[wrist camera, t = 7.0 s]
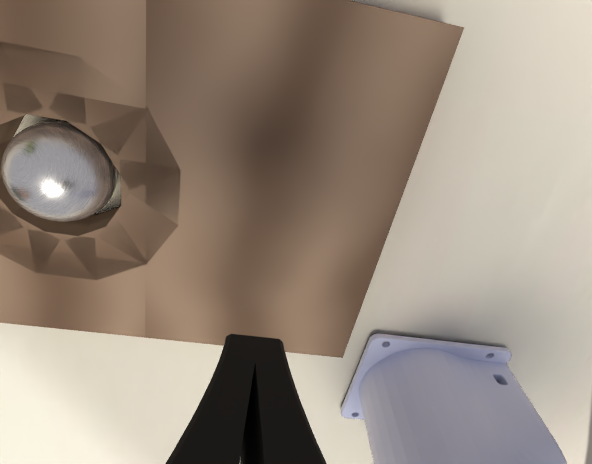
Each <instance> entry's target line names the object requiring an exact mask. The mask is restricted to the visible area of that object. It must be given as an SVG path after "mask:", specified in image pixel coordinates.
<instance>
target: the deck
mask: <svg viewBox="0 0 592 464" xmlns="http://www.w3.org/2000/svg"><path fill="white" fill-rule="evenodd" d="M463 29H464V28H463V27H459V26H455V25H451V24H447V23H442V22H438V21H434V20H430V19H425V18H421V17H417V16H413V15H409V14H404V13H400V12H396V11H392V10H387V9H383V8H379V7H375V6H370V5H366V4H362V3H358V2H354V1H349V0H0V323H10V324H19V325H29V326H39V327H49V328H58V329H68V330H78V331H88V332H97V333H107V334H117V335H127V336H136V337H146V338H156V339H165V340H175V341H185V342H195V343H204V344H214V345H224V344H225V339H226V336H228V335H230V334H239V335H248V336H257V337H267V338H276V339H280V340H281V341H282V342H283V345H284V350H285V352H292V353H302V354H311V355H321V356H331V357H341V358H342V357H343V355H344V352H345V349H346V347H347V344H348V341H349V338H350V336H351V333H352V330H353V328H354V325H355V322H356V319H357V317H358V314H359V311H360V309H361V306H362V303H363V300H364V298H365V295H366V292H367V290H368V287H369V284H370V281H371V279H372V276H373V273H374V271H375V268H376V265H377V262H378V260H379V257H380V254H381V252H382V249H383V246H384V244H385V241H386V238H387V235H388V233H389V230H390V227H391V225H392V222H393V219H394V216H395V214H396V211H397V208H398V206H399V203H400V200H401V197H402V195H403V192H404V189H405V187H406V184H407V181H408V178H409V176H410V173H411V170H412V168H413V165H414V162H415V159H416V157H417V154H418V151H419V149H420V146H421V143H422V140H423V138H424V135H425V132H426V130H427V127H428V124H429V121H430V119H431V116H432V113H433V111H434V108H435V105H436V102H437V100H438V97H439V94H440V92H441V89H442V86H443V83H444V81H445V78H446V75H447V73H448V70H449V67H450V64H451V62H452V59H453V56H454V54H455V51H456V48H457V45H458V43H459V40H460V37H461V35H462V32H463ZM26 114H30V115H36V116H42V117H48V118H53V119H59V120H65V121H68V122H69V123H71V124H72V125H74V126H75V127H77V128H78V129H80V130H81V131H83V132H84V133H86V134H87V135H88V136H90V137H91V138H93V139H94V140H96V141H97V142H99V143H100V144H101V145H102V146H103V148H104V149H105V151H106V153H107V154H108V156H109V158H110V159H111V161H112V162H113V164H114V166H115V167H116V169H117V170H118V172H119V174H120V176H121V206H120V207H118V208H115V209H112V210H109V211H106V212H104V213H101V214H98V215H91V216H89V217H86V218H84V219H80V220H76V221H69V222H60V221H52V220H47V219H44V218H41V217H38V216H36V215H34V214H32V213H30V212H28V211H26V210H25V209H24V208H22V207H21V206H20V205H19V204H18V203H17V202H16V201H15V200H14V199H13V198H12V197H11V195H10V194H9V192H8V191H7V189H6V187H5V185H4V182H3V179H2V173H1V162H2V157H3V154H4V151H5V149H6V147H7V145H8V144H9V142H10V141H11V140H12V138H13V136H14V134H15V132H16V130H17V128H18V126H19V124H20V122H21V121H22V119H23V117H24V115H26Z"/></svg>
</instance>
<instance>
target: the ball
mask: <svg viewBox="0 0 592 464" xmlns="http://www.w3.org/2000/svg"><path fill="white" fill-rule="evenodd" d="M1 173H2V179H3V182H4V185H5V187H6V189H7V191H8V192H9V194H10V195H11V197H12V198H13V199H14V200H15V201H16V202H17V203H18V204H19V205H20V206H21V207H22V208H24V209H25V210H26V211H28V212H30V213H32V214H34V215H36V216H38V217H41V218H44V219H47V220H52V221H60V222H69V221H76V220H80V219H84V218H86V217H89V216H91V215H93V214H94V213H96V212H98V211H99V210H100V209H101V208H103V207H104V206H105V205H106V204H107V202H108V201H109V200H110V198H111V196H112V195H113V192H114V190H115V187H116V182H117V169H116V167H115V166H114V164H113V162H112V161H111V159H110V158H109V156H108V154H107V153H106V151H105V149H104V148H103V146H102V145H101V144H100V143H99V142H97V141H96V140H94V139H93V138H91V137H90V136H88V135H87V134H86V133H84V132H83V131H81V130H80V129H78V128H77V127H75V126H74V125H72V124H70V123H65V122H44V123H39V124H35V125H32V126H30V127H28V128H26V129H24V130H22V131H21V132H19V133H18V134H17V135H16V136H15V137H14V138H13V139H12V140H11V141H10V142H9V144H8V145H7V147H6V149H5V151H4V154H3V157H2V162H1Z"/></svg>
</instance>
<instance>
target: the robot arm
mask: <svg viewBox="0 0 592 464" xmlns="http://www.w3.org/2000/svg"><path fill="white" fill-rule="evenodd" d="M386 341H387V342H386ZM383 342H385V343H383ZM511 356H512V355H511V352H510V351H509V350H508V349H507V348H502V347H494V346H485V345H476V344H467V343H458V342H449V341H441V340H432V339H423V338H414V337H405V336H396V335H388V334H374V335H372V336H371V337H370V338H369V341H368V343H367V346H366V348H365V351H364V353H363V355H362V358H361V360H360V363H359V365H358V368H357V370H356V373H355V375H354V378H353V380H352V383H351V385H350V388H349V390H348V393H347V395H346V398H345V400H344V402H343V405H342V407H341V415H342V416H343V417H344V418H352V419H364V420H365V425H366V429H367V434H368V438H369V443H370V448H371V452H372V457H373V462H374V464H567V462H566V460H565V458H564V455H563V453H562V451H561V449H560V448H559V446H558V444H557V442H556V441H555V439H554V438H553V436H552V435H551V433H550V431H549V430H548V428H547V427H546V425H545V424H544V422H543V421H542V419H541V417H540V416H539V414H538V413H537V411H536V410H535V408H534V407H533V405H532V403H531V402H530V400H529V399H528V397H527V396H526V394H525V392H524V391H523V389H522V388H521V386H520V385H519V383H518V382H517V380H516V378H515V377H514V375H513V374H512V372H511V371H510V369H509V368H508V366H507V362H508V361H509V359H510V358H511ZM239 463H240V464H326V461H325V459H324V457H323V455H322V453H321V450H320V448H319V446H318V444H317V442H316V439H315V437H314V434H313V432H312V430H311V427H310V425H309V422H308V420H307V417H306V414H305V412H304V409H303V407H302V404H301V402H300V399H299V396H298V393H297V390H296V388H295V384H294V381H293V378H292V375H291V372H290V369H289V365H288V362H287V358H286V354H285V350H284V345H283V342H282V341H281V340H280V339H276V338H267V337H257V336H248V335H239V334H230V335H228V336H226V339H225V344H224V347H223V351H222V354H221V357H220V359H219V362H218V365H217V367H216V370H215V372H214V374H213V377H212V379H211V381H210V383H209V385H208V387H207V389H206V391H205V393H204V396H203V398H202V400H201V402H200V404H199V406H198V408H197V410H196V412H195V413H194V415H193V417H192V419H191V421H190V423H189V424H188V426H187V428H186V430H185V431H184V433H183V435H182V437H181V438H180V440H179V442H178V444H177V445H176V447H175V449H174V451H173V452H172V454H171V456H170V457H169V459H168V460H167V462H166V464H239Z"/></svg>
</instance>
